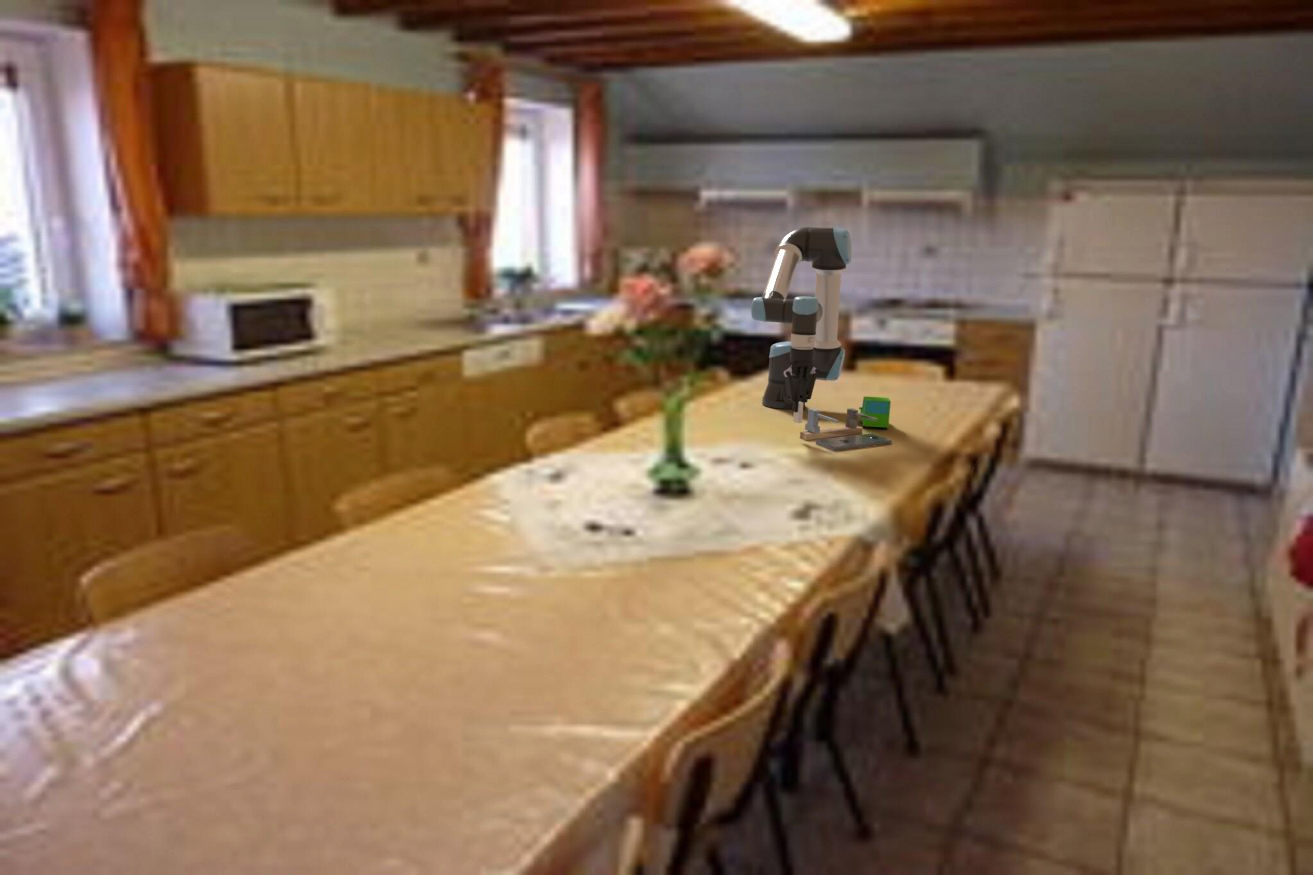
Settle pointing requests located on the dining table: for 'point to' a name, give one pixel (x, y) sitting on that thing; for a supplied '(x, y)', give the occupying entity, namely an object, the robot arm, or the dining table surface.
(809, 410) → the grey hammer
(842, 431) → the rail
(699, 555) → the dining table surface
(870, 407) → the green box
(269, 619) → the dining table surface
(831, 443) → the hole plate
